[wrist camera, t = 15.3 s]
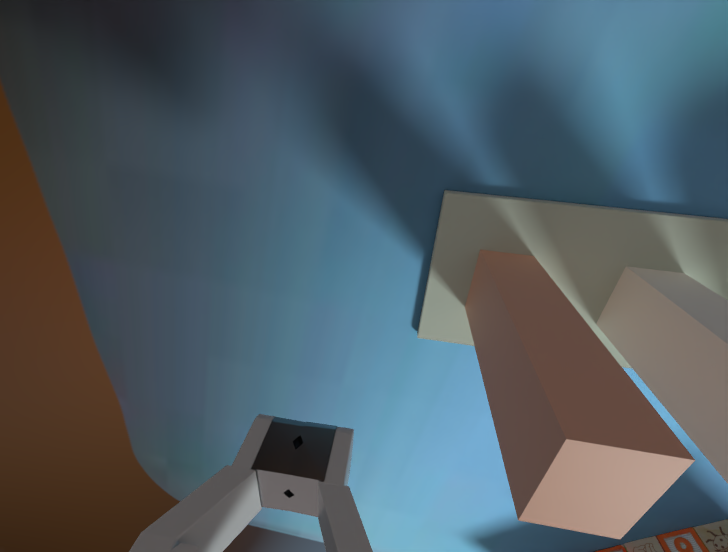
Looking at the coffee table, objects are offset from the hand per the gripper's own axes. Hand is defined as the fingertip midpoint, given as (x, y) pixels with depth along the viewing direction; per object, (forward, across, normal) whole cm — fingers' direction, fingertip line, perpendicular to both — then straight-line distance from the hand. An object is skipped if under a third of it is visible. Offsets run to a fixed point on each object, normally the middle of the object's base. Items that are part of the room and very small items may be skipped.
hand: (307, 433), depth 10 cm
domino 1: (+12, -8, 0) cm, 14 cm away
